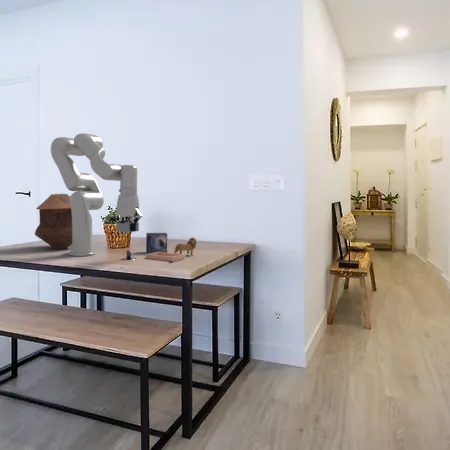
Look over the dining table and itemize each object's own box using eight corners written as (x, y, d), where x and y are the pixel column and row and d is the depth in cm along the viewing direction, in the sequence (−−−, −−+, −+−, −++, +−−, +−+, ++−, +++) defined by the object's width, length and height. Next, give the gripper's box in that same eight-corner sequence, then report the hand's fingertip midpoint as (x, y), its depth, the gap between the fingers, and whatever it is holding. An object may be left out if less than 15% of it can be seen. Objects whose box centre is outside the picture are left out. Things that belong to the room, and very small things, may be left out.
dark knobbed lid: (117, 260, 188) (117, 251, 188) (127, 258, 195) (127, 249, 194) (129, 261, 185) (129, 252, 185) (139, 259, 192) (139, 250, 191)
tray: (145, 259, 193) (145, 254, 193) (158, 256, 202) (158, 251, 202) (172, 262, 186) (173, 257, 186) (184, 259, 196) (184, 254, 195)
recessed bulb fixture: (117, 231, 186) (117, 223, 186) (129, 230, 194) (129, 221, 194) (126, 232, 184) (126, 223, 184) (138, 231, 192) (138, 222, 191)
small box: (146, 254, 209) (146, 234, 208) (145, 252, 215) (145, 232, 214) (167, 253, 212) (167, 233, 211) (165, 251, 218) (166, 232, 217)
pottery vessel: (93, 245, 237) (92, 193, 234) (72, 251, 212) (71, 194, 209) (50, 244, 239) (50, 193, 237) (25, 250, 214) (24, 193, 212)
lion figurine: (191, 253, 213) (192, 236, 212) (198, 255, 209) (199, 237, 208) (170, 256, 202) (170, 238, 201) (177, 258, 198) (177, 239, 198)
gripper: (108, 191, 188) (108, 230, 189) (138, 192, 180) (137, 233, 182) (119, 191, 194) (119, 229, 196) (148, 192, 187) (148, 231, 189)
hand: (128, 230), depth 189 cm, fingers closed on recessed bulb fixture, 5 cm apart
